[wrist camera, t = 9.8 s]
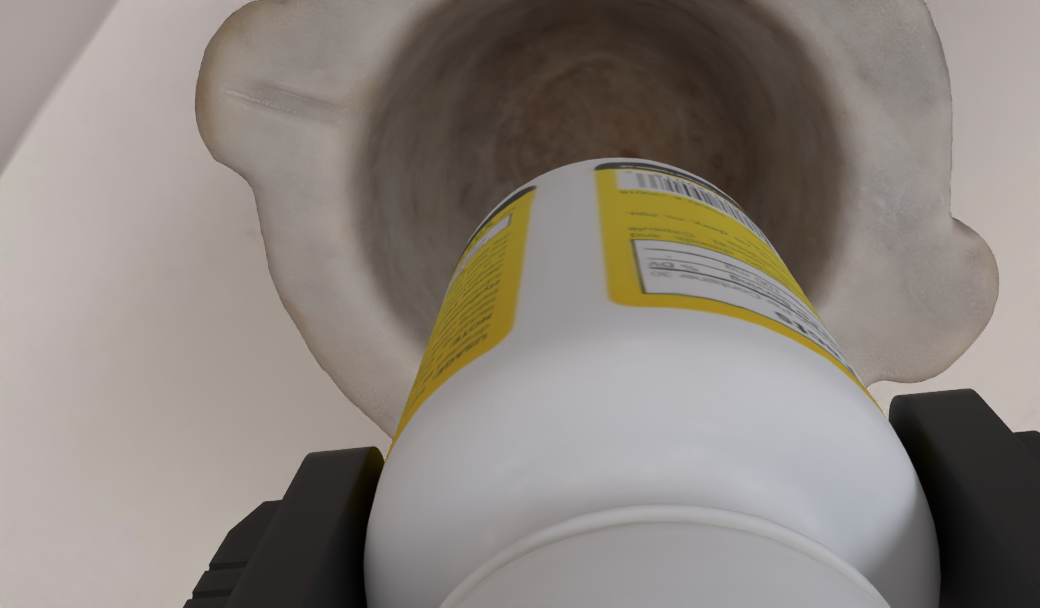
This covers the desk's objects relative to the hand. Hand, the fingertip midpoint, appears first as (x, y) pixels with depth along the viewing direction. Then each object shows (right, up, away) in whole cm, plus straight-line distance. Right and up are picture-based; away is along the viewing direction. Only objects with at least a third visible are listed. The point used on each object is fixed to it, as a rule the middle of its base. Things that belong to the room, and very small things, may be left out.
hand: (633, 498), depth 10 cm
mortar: (+1, +8, +20) cm, 22 cm away
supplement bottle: (0, +2, +5) cm, 6 cm away
